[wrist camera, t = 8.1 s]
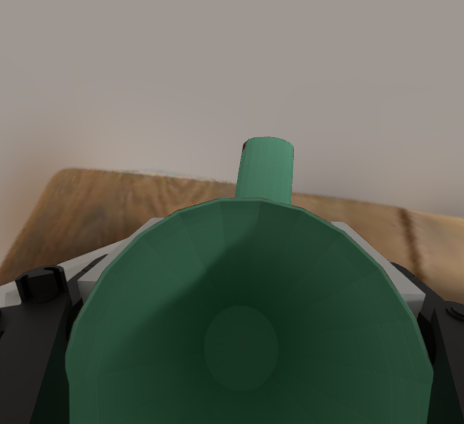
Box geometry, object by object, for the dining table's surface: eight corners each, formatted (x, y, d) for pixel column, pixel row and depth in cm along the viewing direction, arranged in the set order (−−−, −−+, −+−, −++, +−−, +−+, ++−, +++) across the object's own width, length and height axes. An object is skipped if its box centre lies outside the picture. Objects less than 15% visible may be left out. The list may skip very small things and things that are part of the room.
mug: (321, 468, 12) (526, 785, 4) (141, 429, 13) (-48, 604, 4) (317, 218, 19) (383, 116, 10) (198, 204, 20) (167, 98, 11)
